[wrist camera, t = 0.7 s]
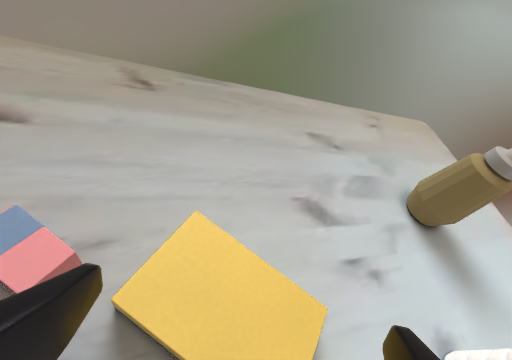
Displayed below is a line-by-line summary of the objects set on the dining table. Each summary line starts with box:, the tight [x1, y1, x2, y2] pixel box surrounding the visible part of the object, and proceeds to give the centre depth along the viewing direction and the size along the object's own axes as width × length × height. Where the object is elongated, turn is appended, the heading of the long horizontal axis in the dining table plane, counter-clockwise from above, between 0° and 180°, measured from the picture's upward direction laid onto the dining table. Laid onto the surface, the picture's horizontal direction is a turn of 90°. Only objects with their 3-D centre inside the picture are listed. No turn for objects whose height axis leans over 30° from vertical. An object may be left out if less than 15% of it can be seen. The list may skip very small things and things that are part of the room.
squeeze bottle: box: [407, 146, 512, 226], centre depth 36 cm, size 8×8×18 cm
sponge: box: [111, 211, 328, 360], centre depth 22 cm, size 16×10×3 cm, turn 59°
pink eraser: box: [0, 205, 82, 294], centre depth 20 cm, size 6×4×3 cm, turn 59°
